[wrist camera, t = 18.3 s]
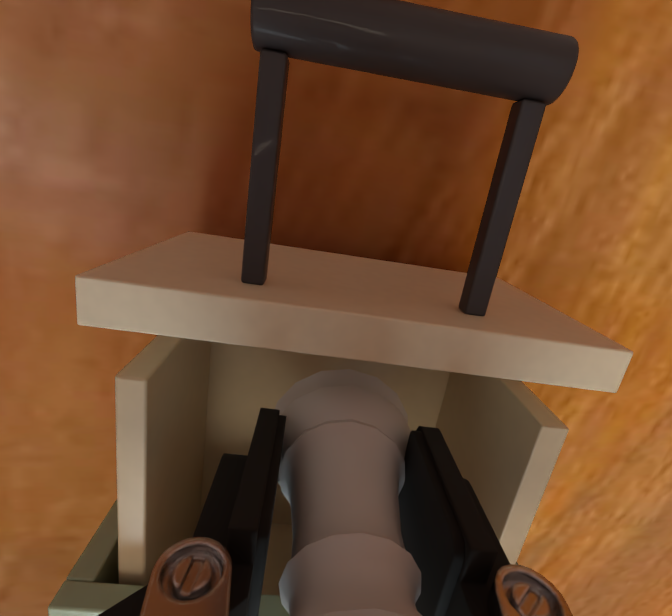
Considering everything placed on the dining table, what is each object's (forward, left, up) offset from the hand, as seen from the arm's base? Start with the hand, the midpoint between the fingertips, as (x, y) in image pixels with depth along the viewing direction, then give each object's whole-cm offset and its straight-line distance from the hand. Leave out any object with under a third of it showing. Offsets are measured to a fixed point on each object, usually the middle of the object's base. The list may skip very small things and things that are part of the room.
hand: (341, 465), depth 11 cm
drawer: (-1, 0, -7) cm, 7 cm away
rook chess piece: (0, 0, -2) cm, 2 cm away
